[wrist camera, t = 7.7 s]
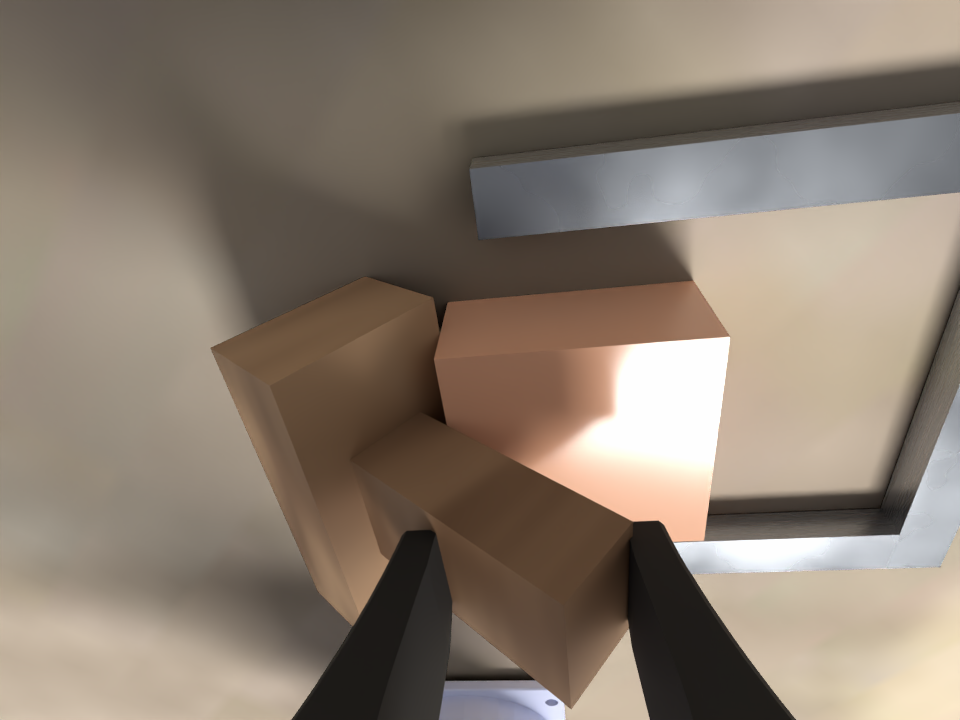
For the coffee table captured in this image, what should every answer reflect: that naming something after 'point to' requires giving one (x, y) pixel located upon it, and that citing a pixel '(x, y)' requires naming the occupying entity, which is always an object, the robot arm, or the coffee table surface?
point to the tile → (595, 392)
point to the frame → (759, 188)
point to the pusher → (422, 483)
